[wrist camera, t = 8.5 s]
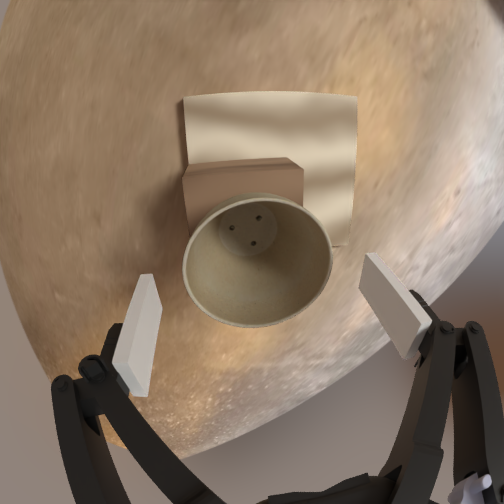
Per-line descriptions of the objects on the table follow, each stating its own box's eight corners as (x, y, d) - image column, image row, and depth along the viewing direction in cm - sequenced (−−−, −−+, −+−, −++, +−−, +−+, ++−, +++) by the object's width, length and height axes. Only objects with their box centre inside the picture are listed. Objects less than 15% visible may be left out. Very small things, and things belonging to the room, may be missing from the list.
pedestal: (188, 164, 27) (181, 178, 21) (286, 157, 27) (303, 169, 22) (199, 251, 31) (197, 281, 26) (286, 243, 32) (300, 271, 27)
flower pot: (230, 292, 27) (236, 346, 21) (167, 213, 23) (150, 254, 16) (321, 242, 26) (351, 286, 19) (270, 148, 21) (294, 166, 15)
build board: (184, 97, 24) (183, 97, 23) (353, 96, 25) (357, 96, 25) (201, 254, 33) (200, 258, 32) (344, 241, 34) (348, 244, 33)
